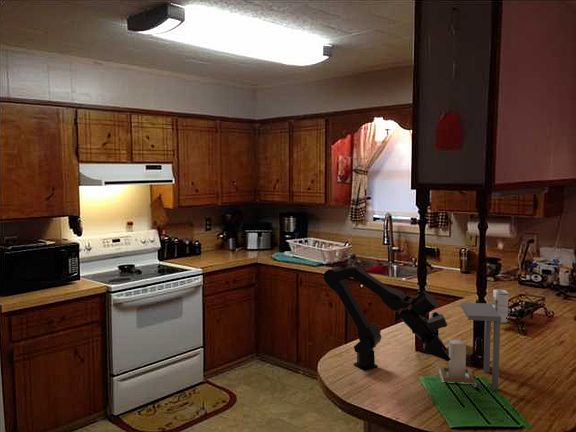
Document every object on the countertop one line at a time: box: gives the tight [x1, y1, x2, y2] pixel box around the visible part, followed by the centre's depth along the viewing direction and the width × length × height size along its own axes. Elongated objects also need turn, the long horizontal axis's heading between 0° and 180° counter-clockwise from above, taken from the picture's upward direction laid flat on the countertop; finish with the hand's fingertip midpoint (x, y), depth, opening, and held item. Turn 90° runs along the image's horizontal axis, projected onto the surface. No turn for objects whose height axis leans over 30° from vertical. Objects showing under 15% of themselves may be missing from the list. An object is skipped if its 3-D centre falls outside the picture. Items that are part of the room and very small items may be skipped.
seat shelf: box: [438, 302, 501, 391], centre depth 175 cm, size 18×16×24 cm
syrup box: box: [492, 289, 509, 324], centre depth 240 cm, size 6×6×14 cm
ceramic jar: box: [448, 339, 467, 378], centre depth 176 cm, size 6×6×12 cm
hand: (447, 355), depth 177 cm, fingers open, 9 cm apart
